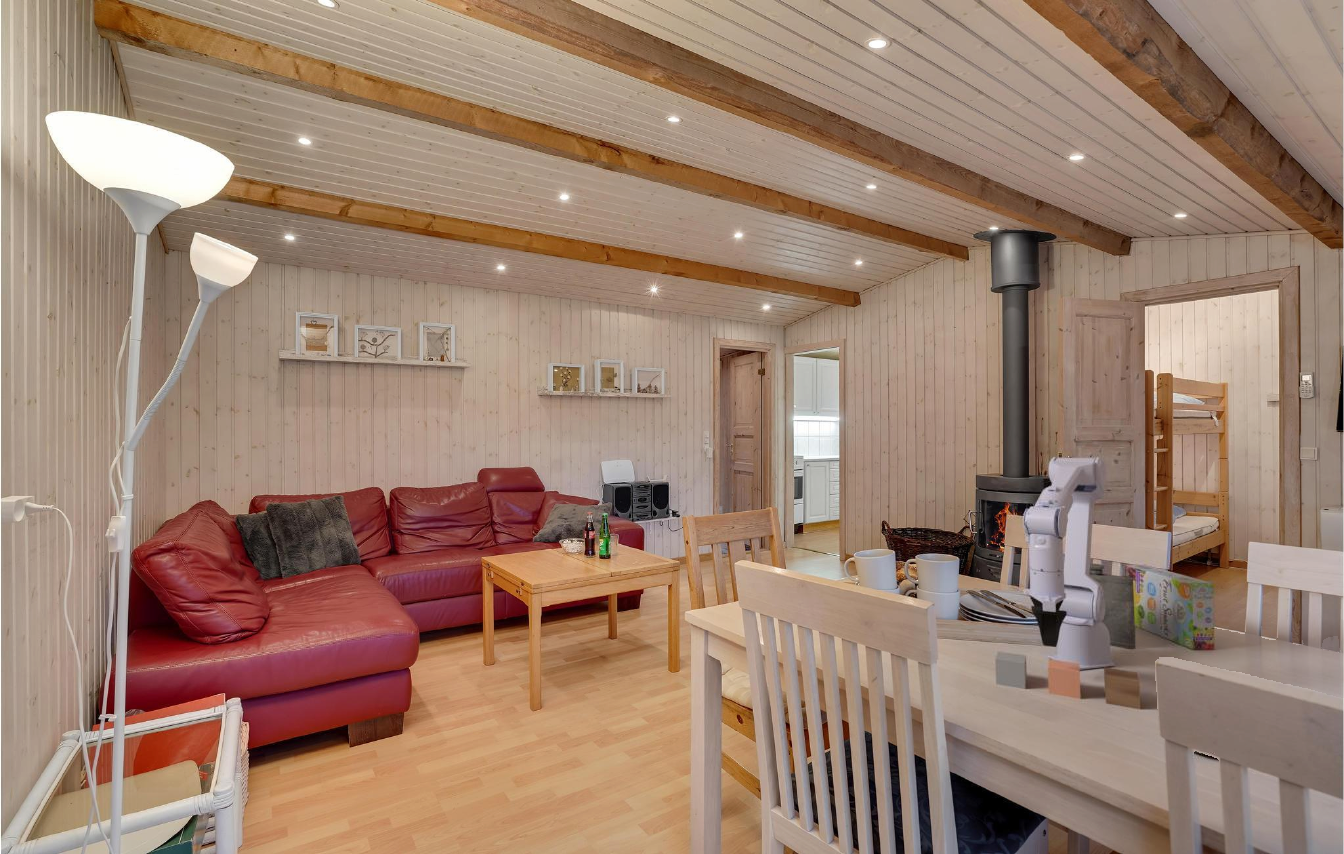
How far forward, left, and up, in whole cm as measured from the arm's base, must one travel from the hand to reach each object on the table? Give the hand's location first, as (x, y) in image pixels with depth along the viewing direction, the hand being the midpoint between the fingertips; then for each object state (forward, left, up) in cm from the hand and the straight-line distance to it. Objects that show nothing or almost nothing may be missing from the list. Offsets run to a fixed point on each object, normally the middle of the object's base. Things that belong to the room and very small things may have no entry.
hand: (1048, 639), depth 120 cm
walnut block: (-8, +8, -10) cm, 15 cm away
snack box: (-51, -19, -10) cm, 55 cm away
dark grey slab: (-32, -20, -10) cm, 39 cm away
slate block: (+5, -5, -10) cm, 12 cm away
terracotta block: (-2, +2, -10) cm, 10 cm away
